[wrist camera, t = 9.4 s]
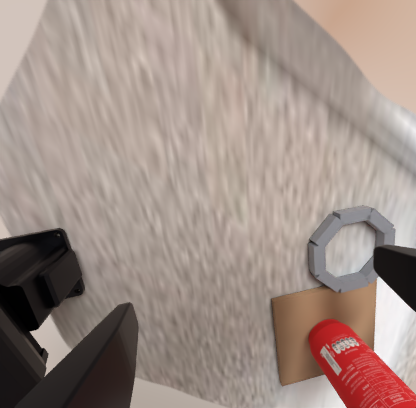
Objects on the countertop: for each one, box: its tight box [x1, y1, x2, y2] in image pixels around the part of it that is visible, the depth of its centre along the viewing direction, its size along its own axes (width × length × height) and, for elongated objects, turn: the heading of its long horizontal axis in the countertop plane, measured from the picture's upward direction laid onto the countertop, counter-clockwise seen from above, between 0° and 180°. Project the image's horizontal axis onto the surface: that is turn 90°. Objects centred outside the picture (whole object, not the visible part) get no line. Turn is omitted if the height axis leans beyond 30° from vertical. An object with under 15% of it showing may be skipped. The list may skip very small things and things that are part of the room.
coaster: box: [272, 279, 377, 386], centre depth 26 cm, size 12×12×1 cm
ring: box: [308, 205, 395, 293], centre depth 23 cm, size 9×9×1 cm
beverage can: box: [308, 319, 416, 408], centre depth 20 cm, size 5×5×12 cm
